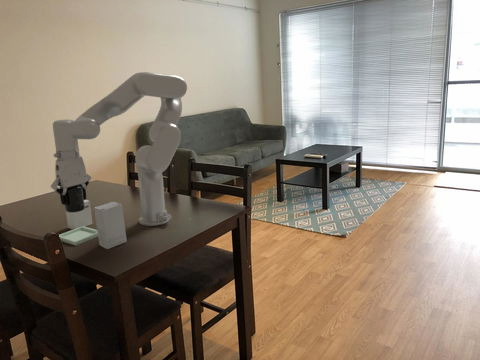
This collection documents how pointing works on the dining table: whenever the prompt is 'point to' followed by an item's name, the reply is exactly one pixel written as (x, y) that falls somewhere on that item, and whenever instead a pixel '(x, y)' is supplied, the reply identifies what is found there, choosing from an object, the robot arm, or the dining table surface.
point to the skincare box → (110, 224)
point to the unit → (80, 217)
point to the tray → (78, 235)
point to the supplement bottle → (75, 199)
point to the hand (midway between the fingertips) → (74, 201)
